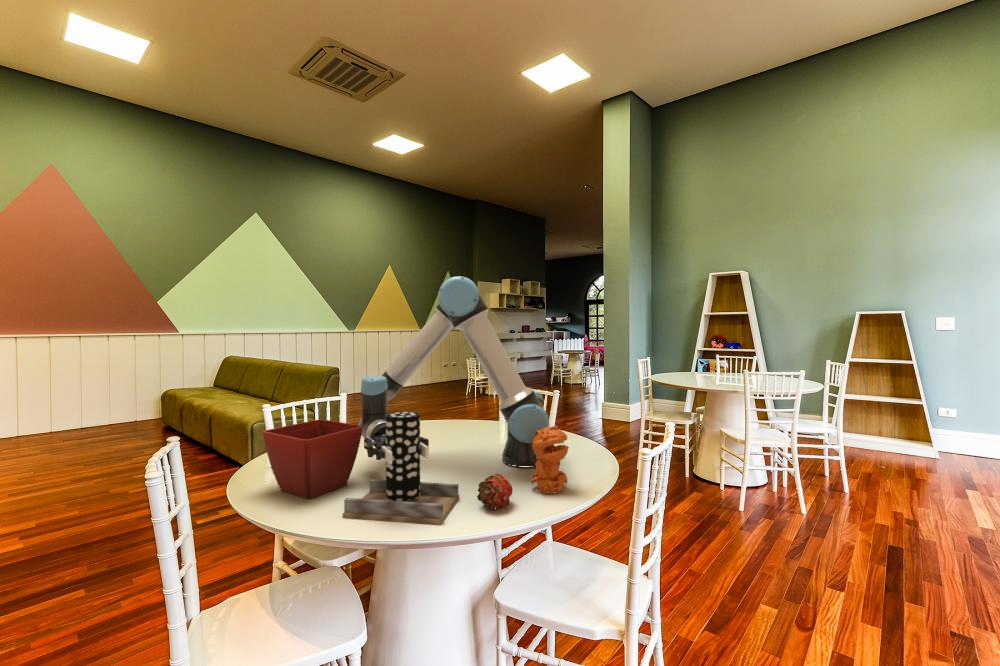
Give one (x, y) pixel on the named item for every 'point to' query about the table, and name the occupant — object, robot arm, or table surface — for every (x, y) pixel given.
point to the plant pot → (312, 455)
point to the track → (404, 504)
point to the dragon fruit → (495, 491)
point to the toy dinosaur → (549, 459)
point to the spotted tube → (403, 455)
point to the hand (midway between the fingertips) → (409, 455)
